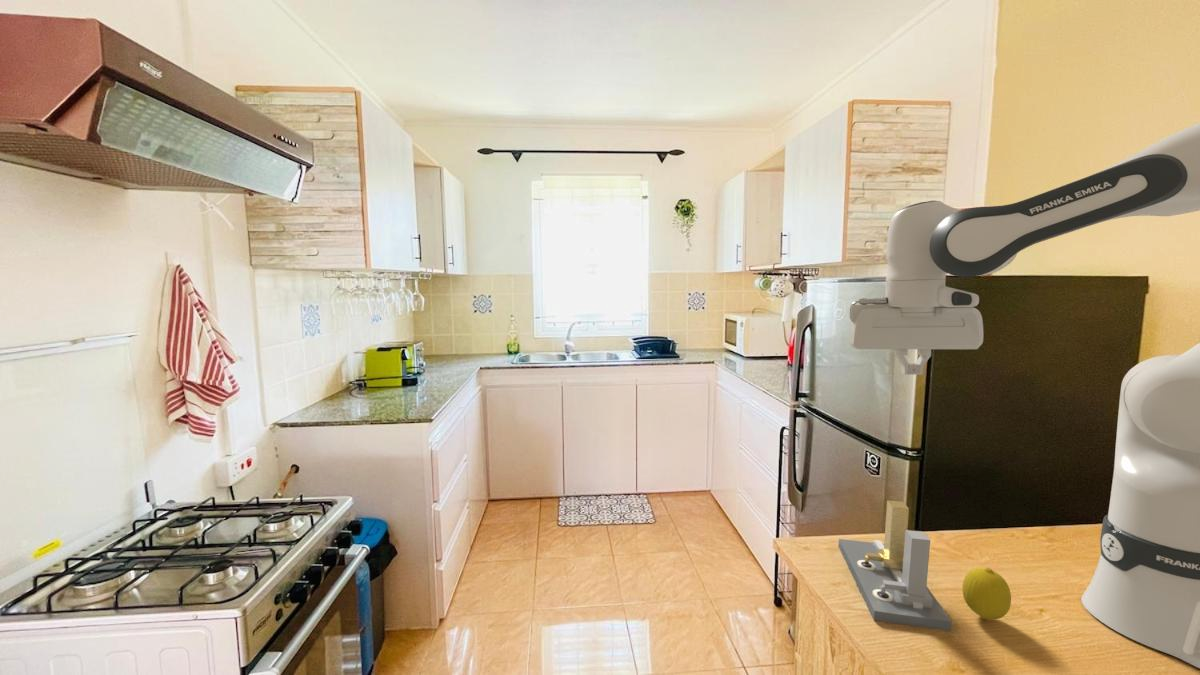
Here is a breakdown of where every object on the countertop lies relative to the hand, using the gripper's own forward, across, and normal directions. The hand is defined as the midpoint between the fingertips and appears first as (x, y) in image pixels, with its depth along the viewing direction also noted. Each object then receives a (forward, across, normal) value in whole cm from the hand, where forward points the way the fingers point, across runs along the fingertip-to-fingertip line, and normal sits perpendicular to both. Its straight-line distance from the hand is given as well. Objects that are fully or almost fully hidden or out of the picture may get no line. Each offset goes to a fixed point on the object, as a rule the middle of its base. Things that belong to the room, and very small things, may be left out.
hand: (911, 374), depth 84 cm
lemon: (+34, +4, -17) cm, 38 cm away
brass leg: (+31, -7, -9) cm, 33 cm away
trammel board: (+33, -7, -11) cm, 36 cm away
